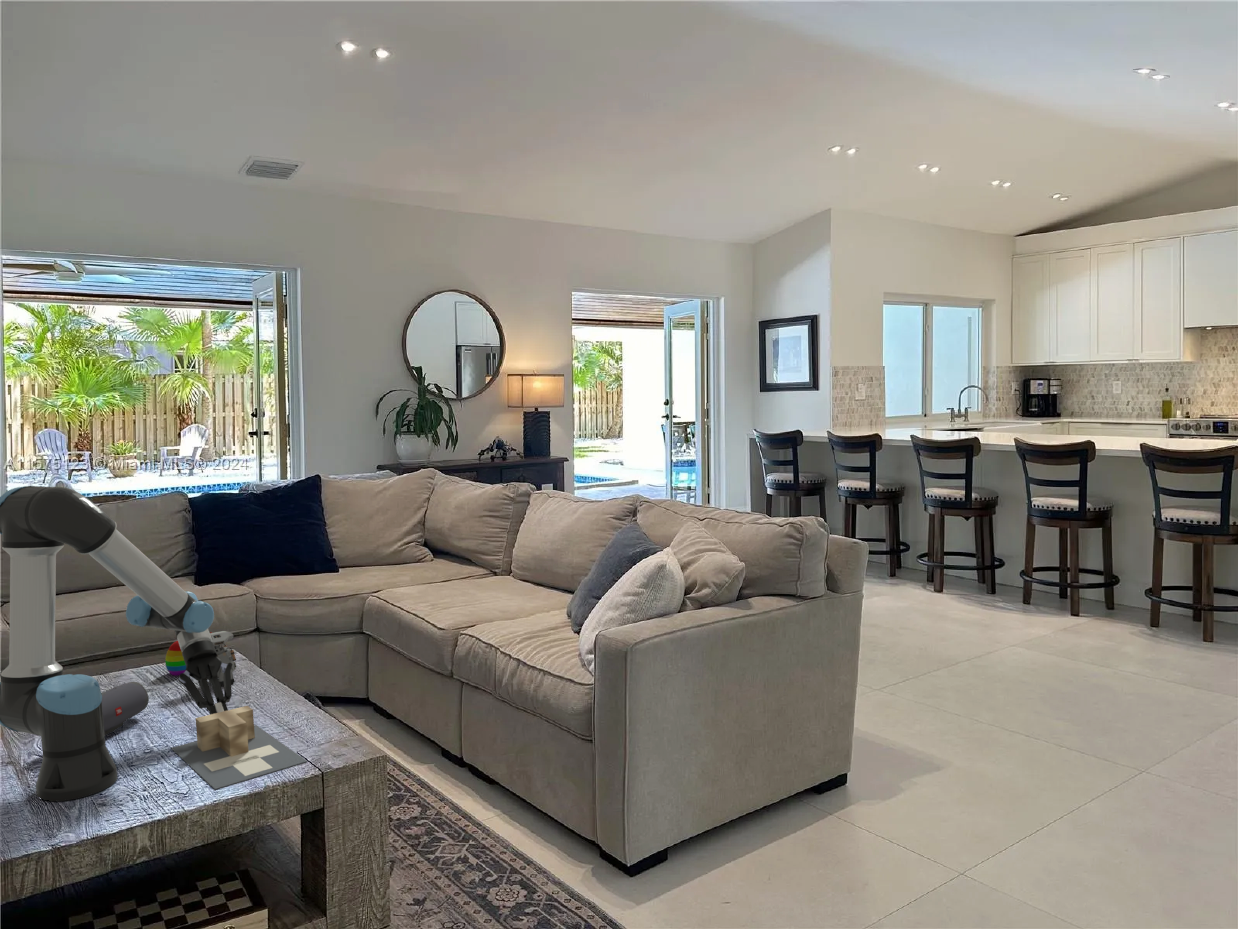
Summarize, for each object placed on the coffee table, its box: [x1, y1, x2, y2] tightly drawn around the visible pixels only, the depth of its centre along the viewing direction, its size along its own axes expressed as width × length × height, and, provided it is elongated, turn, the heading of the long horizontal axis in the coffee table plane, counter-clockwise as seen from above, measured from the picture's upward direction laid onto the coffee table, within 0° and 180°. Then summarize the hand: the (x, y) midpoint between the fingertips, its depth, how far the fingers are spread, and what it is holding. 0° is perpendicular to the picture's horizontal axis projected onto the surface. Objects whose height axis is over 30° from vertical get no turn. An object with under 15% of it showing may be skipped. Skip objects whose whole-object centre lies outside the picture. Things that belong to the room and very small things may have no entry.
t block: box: [195, 705, 255, 756], centre depth 218 cm, size 12×12×7 cm
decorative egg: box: [164, 640, 186, 677], centre depth 279 cm, size 8×8×10 cm
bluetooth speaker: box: [101, 681, 150, 736], centre depth 231 cm, size 23×9×10 cm, turn 168°
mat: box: [170, 724, 308, 791], centre depth 214 cm, size 20×32×1 cm, turn 41°
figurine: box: [209, 630, 237, 688], centre depth 267 cm, size 9×12×15 cm
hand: (224, 728), depth 224 cm, fingers closed
